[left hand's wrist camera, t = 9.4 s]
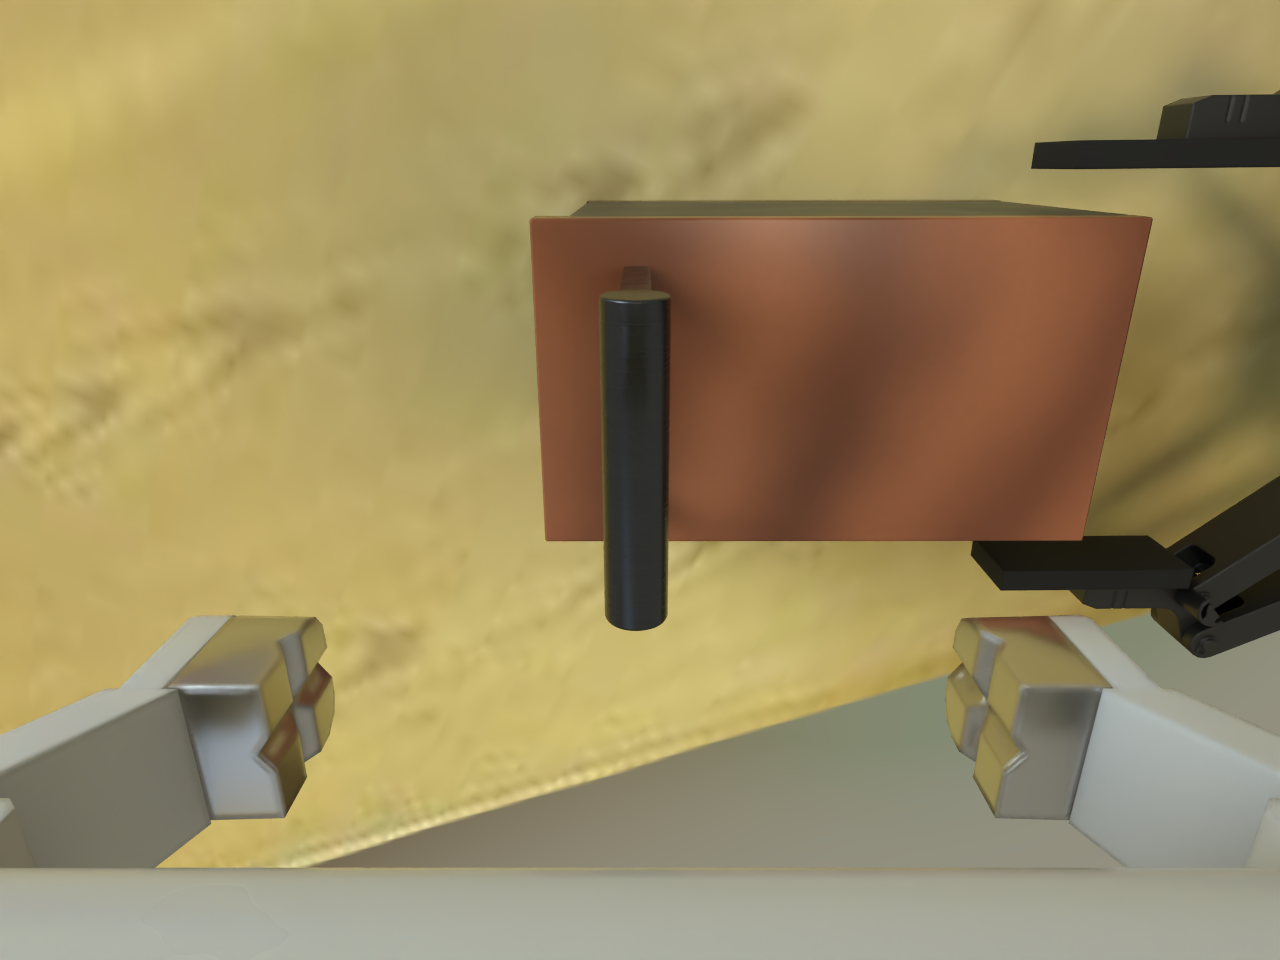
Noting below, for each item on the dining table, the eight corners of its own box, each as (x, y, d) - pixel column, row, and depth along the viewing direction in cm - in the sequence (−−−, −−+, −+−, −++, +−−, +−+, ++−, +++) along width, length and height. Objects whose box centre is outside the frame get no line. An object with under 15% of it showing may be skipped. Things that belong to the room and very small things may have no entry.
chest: (593, 434, 34) (577, 528, 25) (588, 200, 31) (566, 215, 22) (957, 433, 34) (1067, 528, 25) (992, 199, 31) (1133, 214, 22)
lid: (548, 529, 25) (512, 672, 18) (533, 216, 22) (481, 241, 15) (1067, 528, 25) (1235, 672, 18) (1134, 214, 22) (1373, 240, 15)
